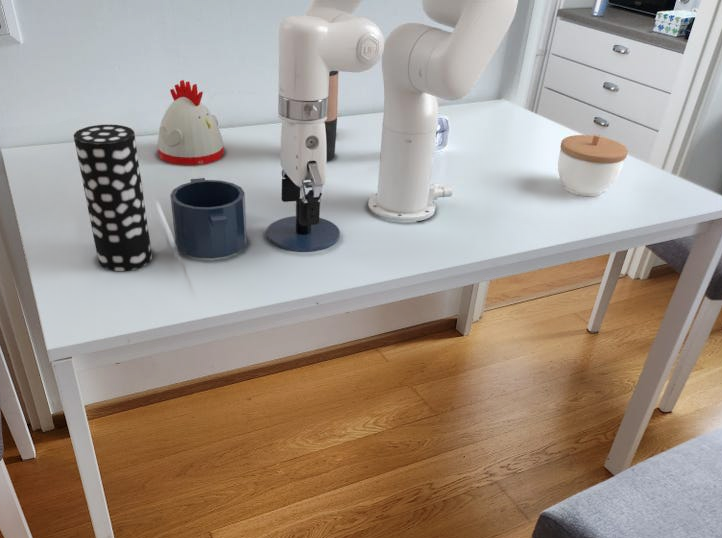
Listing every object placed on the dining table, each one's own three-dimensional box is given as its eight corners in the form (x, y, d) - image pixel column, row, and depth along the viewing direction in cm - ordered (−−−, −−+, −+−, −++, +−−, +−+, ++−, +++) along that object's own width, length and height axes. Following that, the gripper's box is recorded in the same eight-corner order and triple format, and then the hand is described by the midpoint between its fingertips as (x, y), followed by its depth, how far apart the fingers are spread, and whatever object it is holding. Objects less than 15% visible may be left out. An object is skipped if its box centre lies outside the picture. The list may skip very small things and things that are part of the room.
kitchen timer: (194, 170, 139) (187, 94, 130) (145, 155, 144) (135, 82, 135) (236, 151, 149) (232, 79, 140) (188, 138, 154) (182, 68, 145)
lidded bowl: (560, 173, 145) (573, 121, 138) (620, 186, 140) (637, 133, 133) (543, 192, 136) (555, 137, 129) (606, 207, 131) (623, 151, 125)
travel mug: (331, 164, 144) (335, 65, 132) (297, 160, 145) (297, 61, 133) (338, 152, 150) (342, 56, 138) (305, 148, 151) (306, 53, 139)
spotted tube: (156, 246, 112) (139, 125, 100) (146, 271, 105) (127, 144, 93) (105, 245, 112) (82, 123, 99) (92, 270, 105) (66, 143, 93)
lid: (325, 218, 123) (326, 183, 119) (350, 249, 114) (352, 212, 110) (258, 226, 119) (257, 190, 115) (279, 259, 110) (278, 221, 106)
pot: (233, 219, 121) (230, 170, 116) (258, 263, 109) (256, 211, 103) (168, 227, 118) (162, 177, 112) (187, 273, 105) (181, 220, 100)
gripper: (346, 123, 98) (338, 231, 108) (307, 91, 111) (304, 190, 121) (297, 125, 95) (294, 236, 105) (263, 92, 108) (263, 194, 118)
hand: (299, 212), depth 113 cm, fingers open, 9 cm apart
